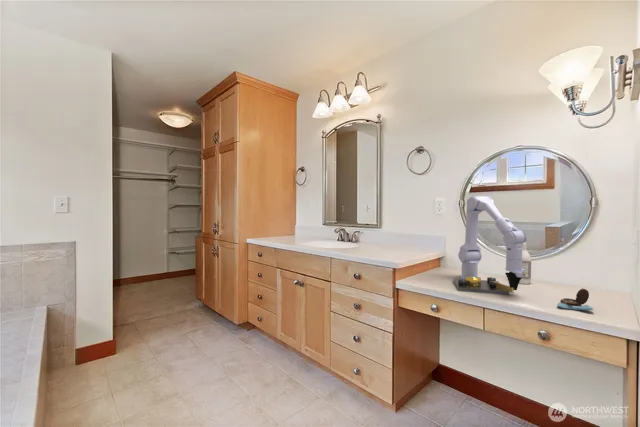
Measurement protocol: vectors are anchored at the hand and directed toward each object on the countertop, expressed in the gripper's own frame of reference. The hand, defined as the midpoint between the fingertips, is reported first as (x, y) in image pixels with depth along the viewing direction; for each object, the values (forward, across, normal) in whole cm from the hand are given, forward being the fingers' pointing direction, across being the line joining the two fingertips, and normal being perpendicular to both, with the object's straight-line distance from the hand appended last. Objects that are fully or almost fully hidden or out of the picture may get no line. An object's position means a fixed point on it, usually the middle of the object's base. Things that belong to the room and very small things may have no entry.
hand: (513, 289), depth 125 cm
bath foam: (+3, +24, -11) cm, 27 cm away
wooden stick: (+1, +3, +4) cm, 5 cm away
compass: (+3, -6, -18) cm, 19 cm away
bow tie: (+2, -10, -17) cm, 20 cm away
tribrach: (+2, +9, +12) cm, 15 cm away
